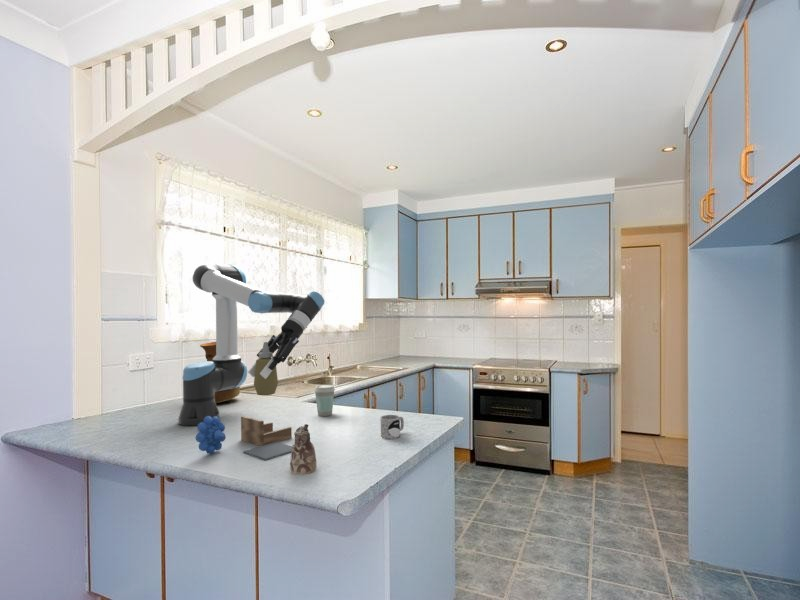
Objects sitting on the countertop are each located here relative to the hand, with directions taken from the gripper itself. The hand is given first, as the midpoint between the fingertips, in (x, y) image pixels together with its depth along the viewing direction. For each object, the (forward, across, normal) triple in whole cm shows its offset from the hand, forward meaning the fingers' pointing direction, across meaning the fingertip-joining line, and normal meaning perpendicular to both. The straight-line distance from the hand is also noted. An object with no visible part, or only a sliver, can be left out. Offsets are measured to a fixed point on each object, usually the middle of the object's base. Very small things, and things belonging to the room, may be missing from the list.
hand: (256, 375), depth 148 cm
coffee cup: (-11, +10, -43) cm, 46 cm away
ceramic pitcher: (-2, +74, -34) cm, 81 cm away
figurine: (+21, -34, -10) cm, 41 cm away
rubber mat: (+18, -13, -13) cm, 26 cm away
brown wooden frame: (+13, 0, -18) cm, 23 cm away
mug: (-7, -33, -39) cm, 51 cm away
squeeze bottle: (+3, 0, -8) cm, 8 cm away
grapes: (+27, -1, -5) cm, 27 cm away
